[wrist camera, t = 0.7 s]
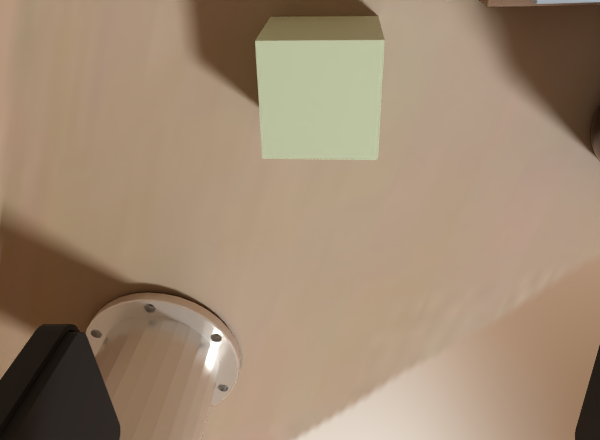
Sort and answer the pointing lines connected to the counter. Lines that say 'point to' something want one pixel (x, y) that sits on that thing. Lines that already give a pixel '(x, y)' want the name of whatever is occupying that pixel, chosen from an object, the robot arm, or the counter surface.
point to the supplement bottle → (596, 133)
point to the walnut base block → (528, 3)
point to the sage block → (320, 87)
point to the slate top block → (562, 1)
